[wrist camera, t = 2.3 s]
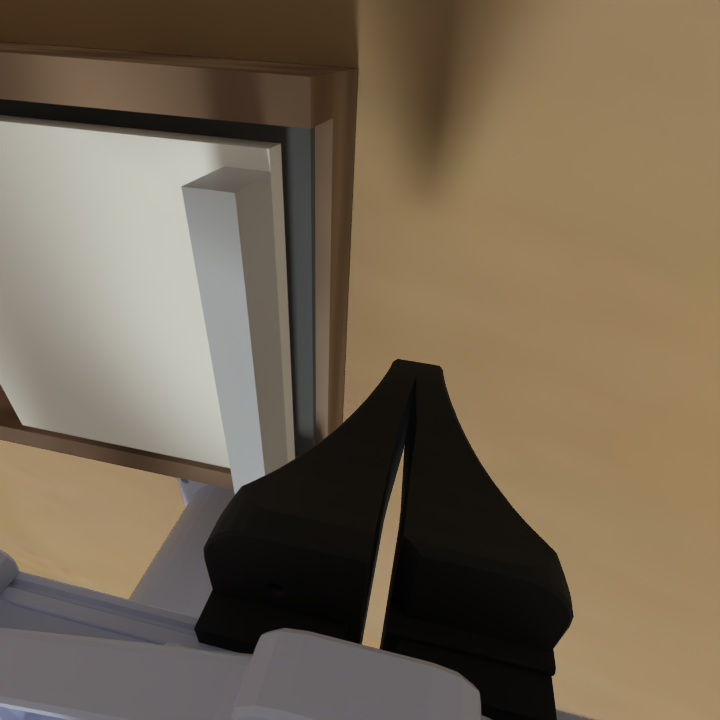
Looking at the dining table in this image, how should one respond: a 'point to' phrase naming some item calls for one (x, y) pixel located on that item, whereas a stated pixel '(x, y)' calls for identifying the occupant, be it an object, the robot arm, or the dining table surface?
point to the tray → (219, 102)
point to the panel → (296, 220)
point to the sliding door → (147, 291)
